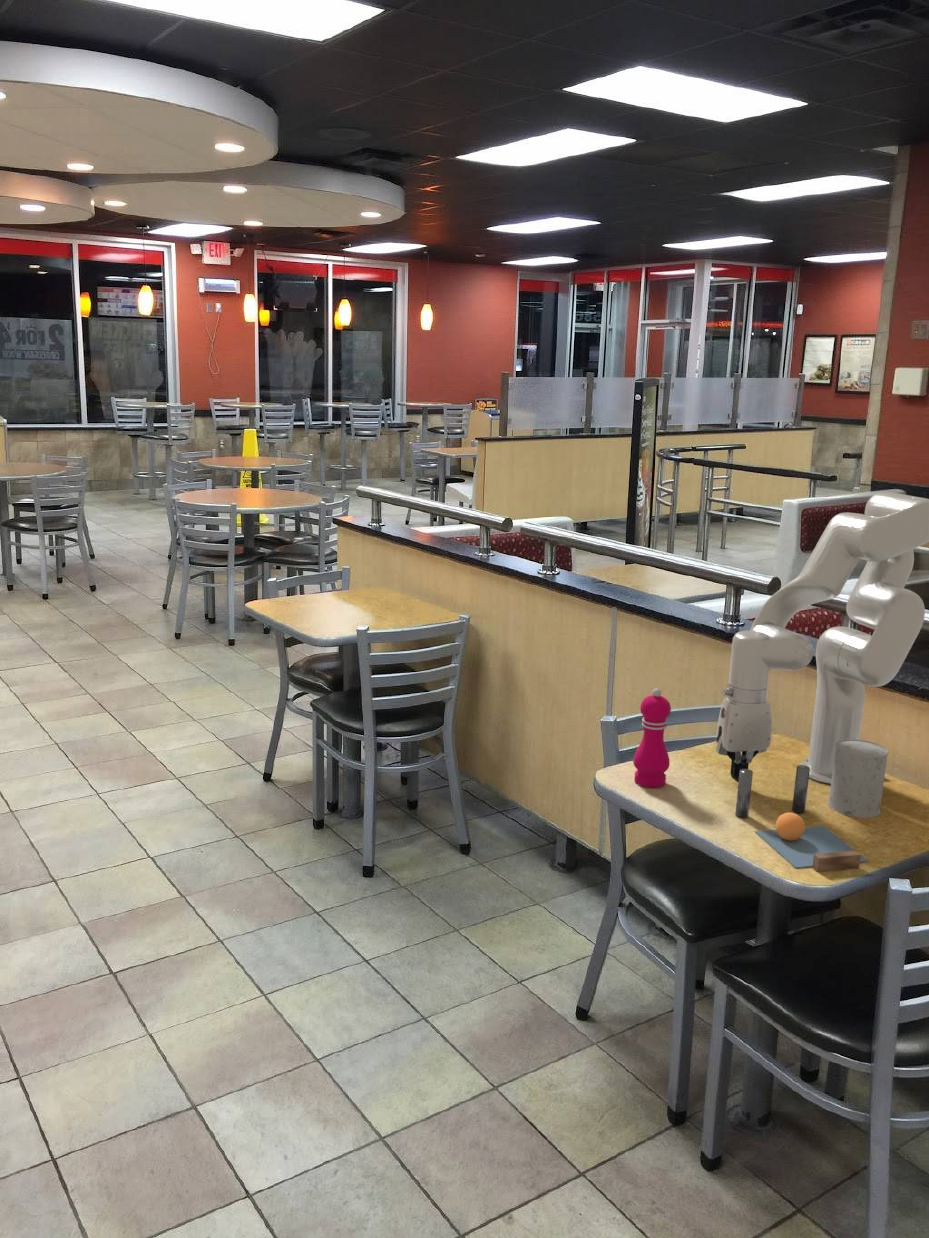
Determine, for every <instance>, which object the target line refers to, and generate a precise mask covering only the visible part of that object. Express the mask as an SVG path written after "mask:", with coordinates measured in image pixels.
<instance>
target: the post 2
mask: <svg viewBox="0 0 929 1238" xmlns="http://www.w3.org/2000/svg"><path fill="white" fill-rule="evenodd" d="M809 772H810V768H809V767H808V766H805V765H800V764H799V765H796V771H795V777H794V779H795V780H794V788H793V795H792V805H791V813H795V814H797V815H801V814H802V815H803V814H805V813H806V806H807V805H806V804H807V797H808V788H809V787H808V786H809V779H810V778H809Z"/></svg>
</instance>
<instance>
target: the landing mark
mask: <svg viewBox="0 0 929 1238" xmlns="http://www.w3.org/2000/svg"><path fill="white" fill-rule="evenodd" d="M754 833H755V834H756V835H758V836H759V837H760V838H761V839H762V840H763V841H764V842H765V843H767V845H769V846H770V847H771V848H772V849H773V850H774V851H775V852H776V853H777V854H779V856H781V857H782V858H783V859H784V860H786V861H787V862H788V863H789V864H790V865H791V866H792V867H793V868H794V869H804V868H812V865H813V857H814V854H822V853H833V852H845V851H857V850H856V849H854V848H853V847H852V846H850V845H849V844H848V843H847V842H845V841H844V840H843V839H842V838H840V836H837V835H836V834H835V833H834V832H833V831H831V829H829V828H827V827H826V826H825V825H815V826H805V830H804V833H803V835H802V836H801V837H800V838H799V839H797V840H794V841H788V840H785V839H783V838H781V837H780V836H779V834H778V833H777V831H776V829H766V830H765V829H764V830H755V831H754ZM868 862H869V860H868V859H867V858H866V857H864V856H863V855H862V854H861V858H860V863H868Z"/></svg>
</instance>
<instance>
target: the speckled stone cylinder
mask: <svg viewBox="0 0 929 1238" xmlns="http://www.w3.org/2000/svg"><path fill="white" fill-rule="evenodd" d="M835 746H836V748H835V756H834V764H833V772H832V781H831V784H830V789H829V797H828V803H827V804H828V806H829V807H830V808H831V810H833V811H835V812H837V813H839V814H842V815H845V816H849V817H853V818H862V819H863V818H864V819H865V818H866V819H867V818H875V817H877V816H879V815H880V814H881V806H882V805H881V804H882V799H883V790H884V784H885V775H886V768H887V762H888V755H889V750H888V749H887V748H886V747H885V746H884V745H881V744H879V743H876V742H872V741H869V740H865V739H864V740H863V739H860V740H858V739H845V740H840V741H838V742H836V744H835ZM878 814H879V815H878Z"/></svg>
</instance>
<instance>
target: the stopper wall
mask: <svg viewBox="0 0 929 1238" xmlns="http://www.w3.org/2000/svg"><path fill="white" fill-rule="evenodd" d="M861 855H862V854H861V853H859V851H857V850H856V851H845V852H833V853H822V854H814V857H813V865H812V867H811V868H812V869H813V870H814V871H815V872H817V873H819V872H821V873H822V872H827V871H828V872H831V871H832V872H833V871H840V870H841V871H842V870H852V869H860V863H861V862H860V858H861Z"/></svg>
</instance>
